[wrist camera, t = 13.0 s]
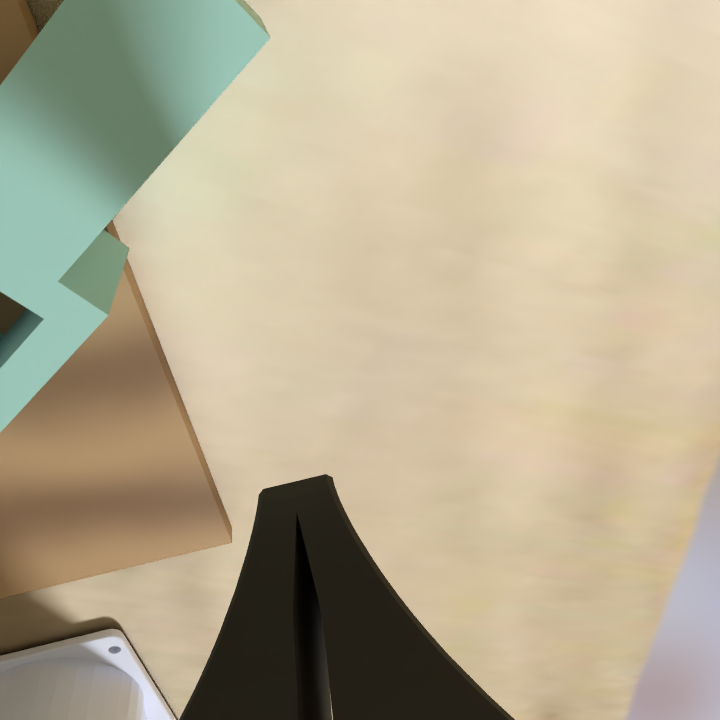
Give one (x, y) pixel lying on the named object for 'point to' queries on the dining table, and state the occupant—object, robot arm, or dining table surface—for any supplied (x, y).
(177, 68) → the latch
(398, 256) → the dining table surface
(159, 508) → the board
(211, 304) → the dining table surface
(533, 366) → the dining table surface
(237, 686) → the robot arm
